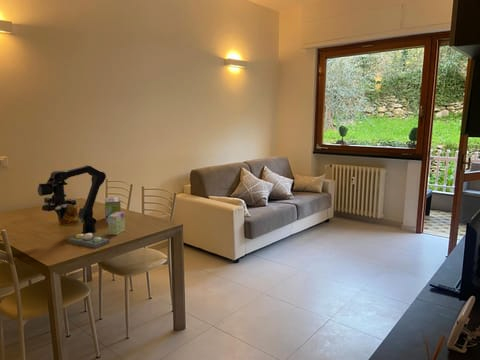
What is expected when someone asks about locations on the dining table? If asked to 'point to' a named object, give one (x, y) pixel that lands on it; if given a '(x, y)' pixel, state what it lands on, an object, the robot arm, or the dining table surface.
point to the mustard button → (79, 236)
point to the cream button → (88, 236)
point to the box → (116, 223)
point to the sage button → (97, 239)
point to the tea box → (112, 206)
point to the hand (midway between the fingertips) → (61, 219)
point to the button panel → (88, 241)
